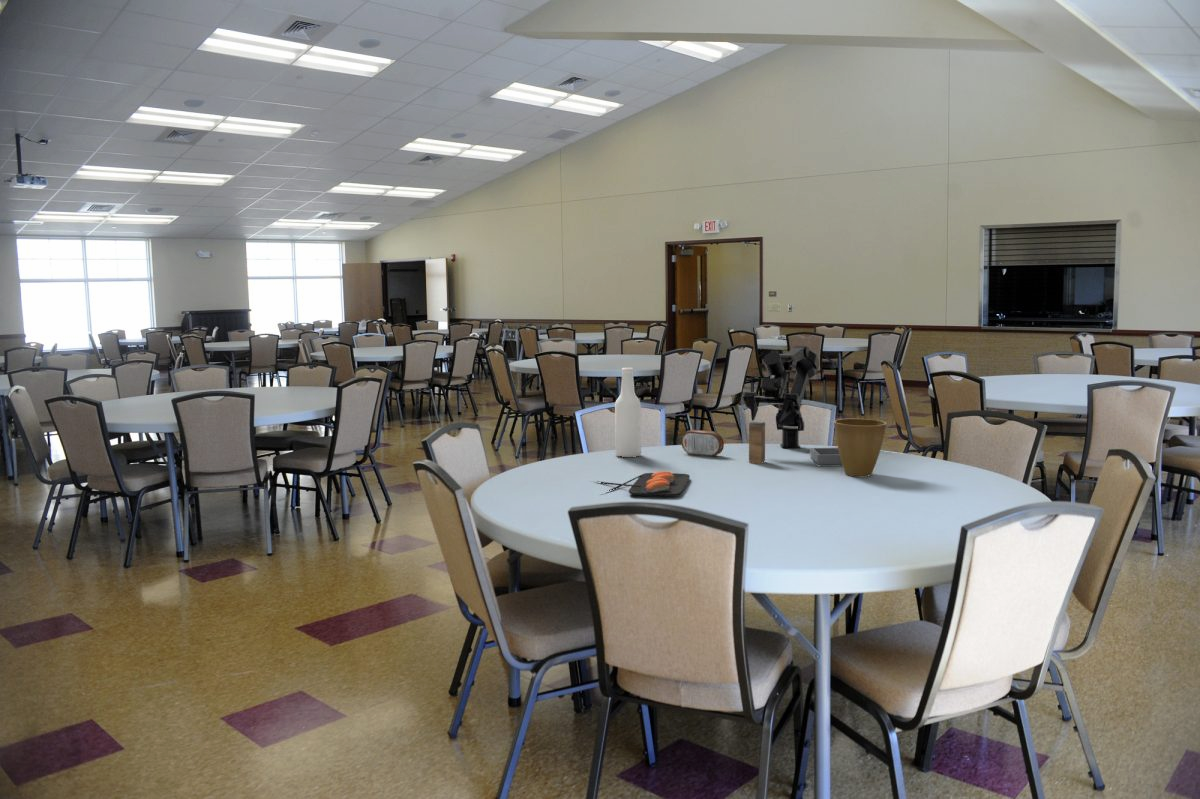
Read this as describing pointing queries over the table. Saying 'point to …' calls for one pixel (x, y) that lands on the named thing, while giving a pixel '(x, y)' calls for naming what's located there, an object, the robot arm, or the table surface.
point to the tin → (702, 443)
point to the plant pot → (859, 444)
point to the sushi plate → (656, 484)
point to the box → (825, 456)
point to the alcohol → (627, 418)
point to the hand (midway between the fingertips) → (765, 420)
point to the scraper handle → (756, 442)
